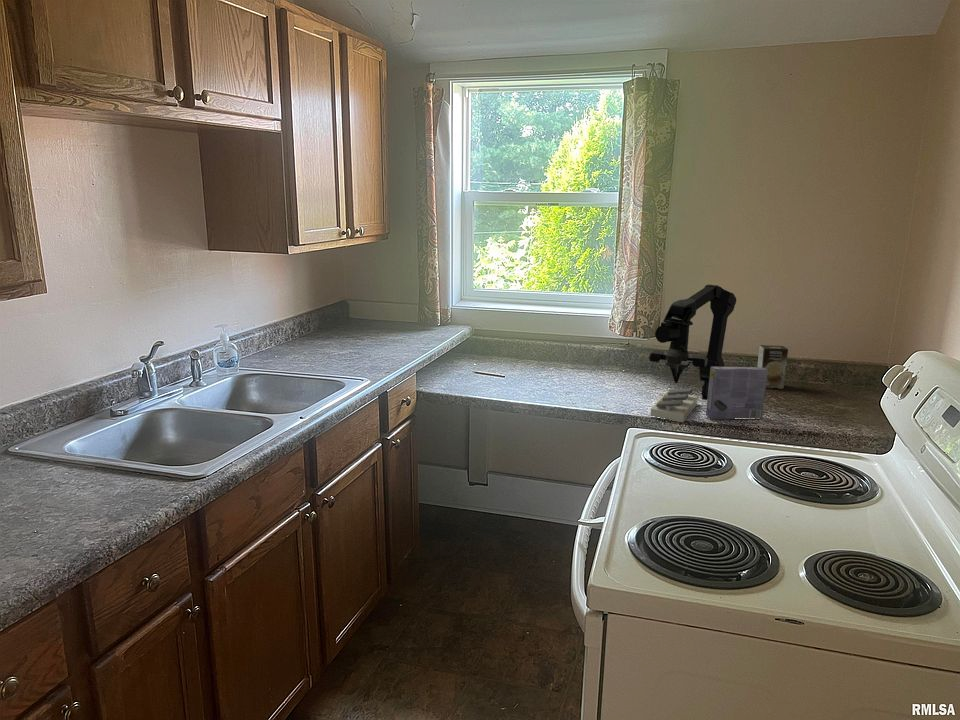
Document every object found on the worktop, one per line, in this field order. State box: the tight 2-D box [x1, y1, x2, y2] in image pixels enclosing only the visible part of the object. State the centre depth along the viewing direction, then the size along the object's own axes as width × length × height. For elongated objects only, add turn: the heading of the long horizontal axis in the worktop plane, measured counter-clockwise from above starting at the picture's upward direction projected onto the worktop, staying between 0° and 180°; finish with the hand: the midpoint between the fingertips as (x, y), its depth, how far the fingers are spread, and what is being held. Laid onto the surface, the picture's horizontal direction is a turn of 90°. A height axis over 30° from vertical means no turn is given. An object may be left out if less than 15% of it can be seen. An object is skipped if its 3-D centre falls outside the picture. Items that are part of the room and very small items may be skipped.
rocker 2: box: [661, 394, 689, 401], centre depth 240 cm, size 8×4×1 cm, turn 62°
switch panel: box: [649, 391, 698, 423], centre depth 240 cm, size 11×23×4 cm, turn 152°
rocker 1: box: [667, 387, 693, 395], centre depth 247 cm, size 8×4×1 cm, turn 62°
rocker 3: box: [655, 400, 683, 407], centre depth 233 cm, size 8×4×1 cm, turn 62°
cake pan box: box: [705, 366, 768, 420], centre depth 231 cm, size 19×5×18 cm, turn 92°
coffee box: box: [757, 344, 789, 390], centre depth 269 cm, size 9×6×16 cm
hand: (676, 382), depth 239 cm, fingers closed
